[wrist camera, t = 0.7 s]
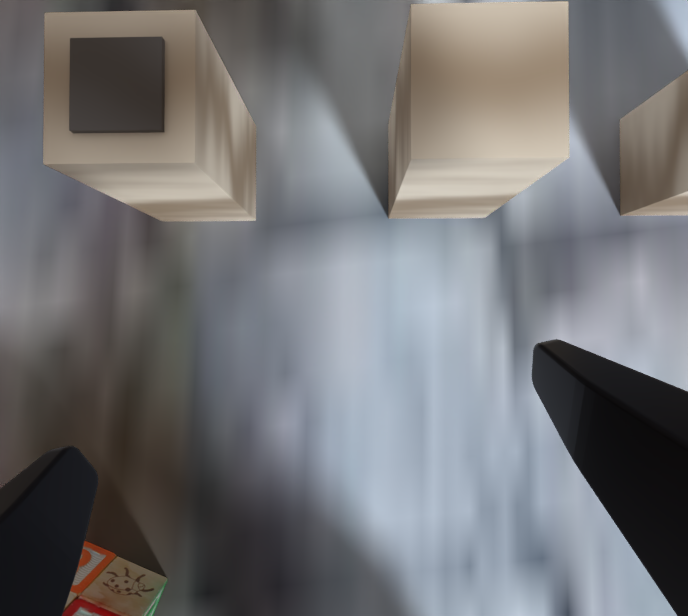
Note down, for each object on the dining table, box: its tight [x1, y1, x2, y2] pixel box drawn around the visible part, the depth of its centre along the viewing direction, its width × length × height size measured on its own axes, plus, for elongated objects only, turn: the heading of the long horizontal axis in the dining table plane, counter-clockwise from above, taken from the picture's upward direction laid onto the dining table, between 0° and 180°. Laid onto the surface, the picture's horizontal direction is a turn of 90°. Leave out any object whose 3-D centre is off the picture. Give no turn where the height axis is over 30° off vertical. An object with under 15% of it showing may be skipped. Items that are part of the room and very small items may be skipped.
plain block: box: [388, 1, 569, 218], centre depth 17 cm, size 5×5×8 cm
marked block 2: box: [43, 10, 256, 221], centre depth 17 cm, size 5×5×8 cm
